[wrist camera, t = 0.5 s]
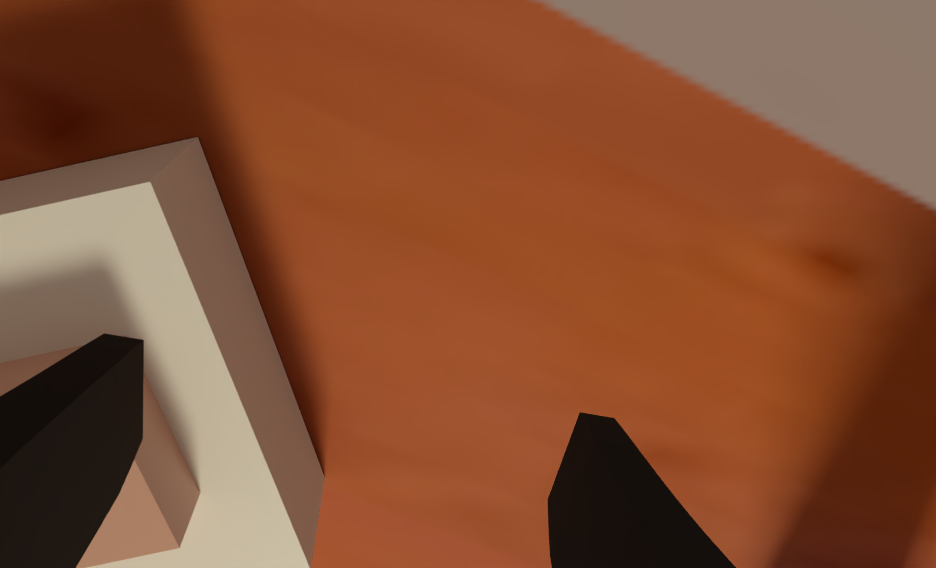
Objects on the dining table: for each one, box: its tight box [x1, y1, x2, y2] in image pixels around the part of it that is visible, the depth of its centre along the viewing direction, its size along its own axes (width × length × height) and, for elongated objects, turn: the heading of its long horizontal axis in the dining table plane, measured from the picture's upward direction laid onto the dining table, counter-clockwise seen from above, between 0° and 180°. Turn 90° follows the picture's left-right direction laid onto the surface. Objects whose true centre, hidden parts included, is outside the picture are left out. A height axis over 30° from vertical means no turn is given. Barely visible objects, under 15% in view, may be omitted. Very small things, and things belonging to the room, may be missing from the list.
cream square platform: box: [0, 137, 325, 568], centre depth 21 cm, size 12×12×4 cm
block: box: [0, 336, 201, 568], centre depth 18 cm, size 5×5×2 cm
